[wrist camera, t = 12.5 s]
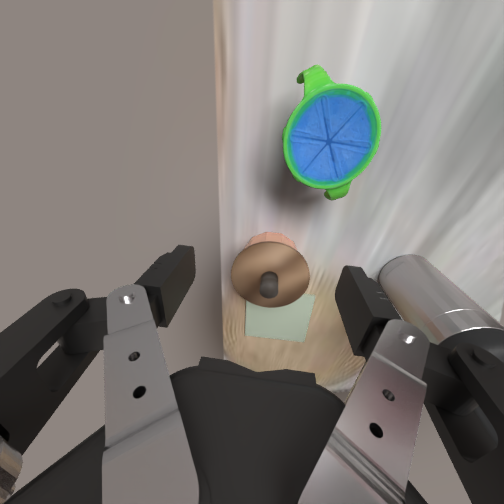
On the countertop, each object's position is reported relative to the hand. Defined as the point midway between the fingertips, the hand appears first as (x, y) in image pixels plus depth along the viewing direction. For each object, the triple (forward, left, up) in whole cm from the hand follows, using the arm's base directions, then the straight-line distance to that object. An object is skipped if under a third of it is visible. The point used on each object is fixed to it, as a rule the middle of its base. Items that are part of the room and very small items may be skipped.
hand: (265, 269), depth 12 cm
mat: (-20, +25, -28) cm, 43 cm away
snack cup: (-2, -8, -28) cm, 29 cm away
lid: (-9, +13, -22) cm, 27 cm away
